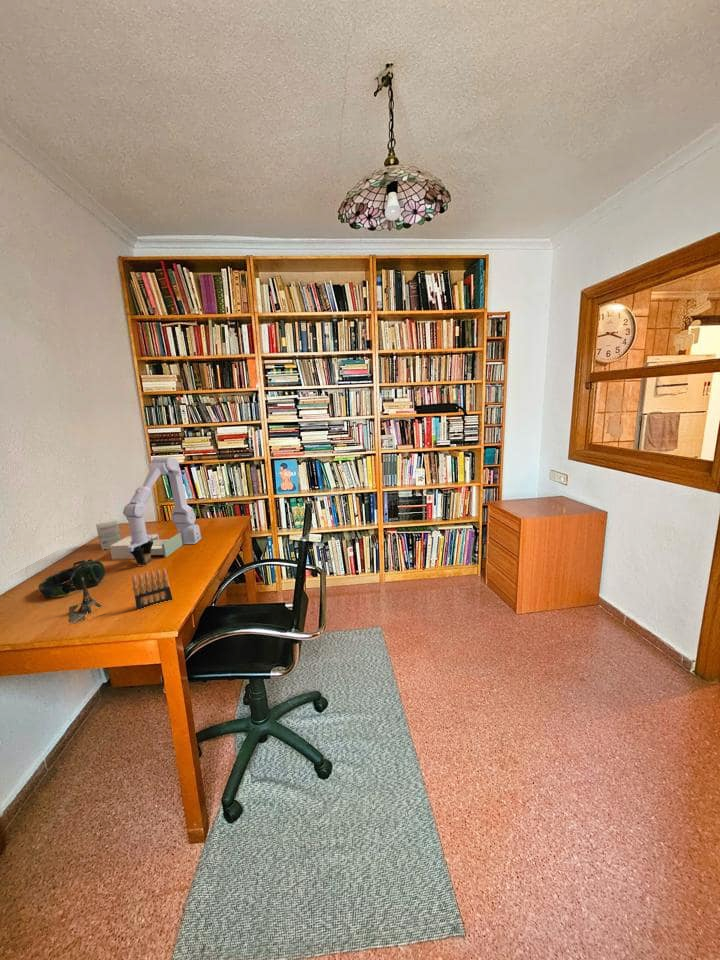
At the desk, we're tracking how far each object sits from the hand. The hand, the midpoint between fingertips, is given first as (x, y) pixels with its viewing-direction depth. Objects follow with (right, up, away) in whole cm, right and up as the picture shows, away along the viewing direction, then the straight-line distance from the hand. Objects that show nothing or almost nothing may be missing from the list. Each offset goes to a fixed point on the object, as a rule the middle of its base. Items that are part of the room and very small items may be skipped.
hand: (144, 560), depth 158 cm
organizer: (-11, +1, +14) cm, 18 cm away
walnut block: (0, -1, 0) cm, 1 cm away
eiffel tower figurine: (+2, -9, -35) cm, 36 cm away
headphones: (-15, -7, -18) cm, 25 cm away
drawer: (0, +2, +13) cm, 13 cm away
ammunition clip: (+23, -7, -33) cm, 41 cm away
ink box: (-31, +2, +25) cm, 39 cm away
